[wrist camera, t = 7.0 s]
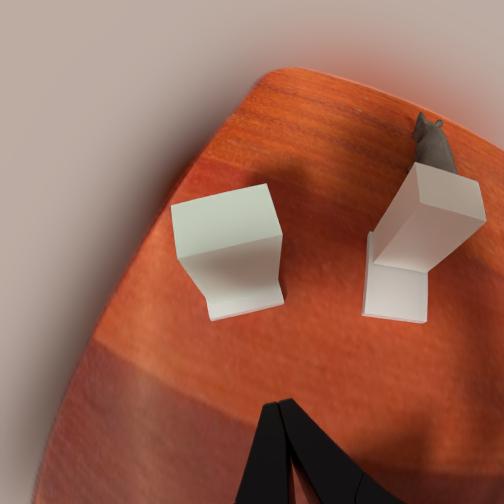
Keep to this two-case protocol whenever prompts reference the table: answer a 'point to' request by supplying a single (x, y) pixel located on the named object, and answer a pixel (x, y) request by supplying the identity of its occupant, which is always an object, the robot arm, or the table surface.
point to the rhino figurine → (432, 146)
